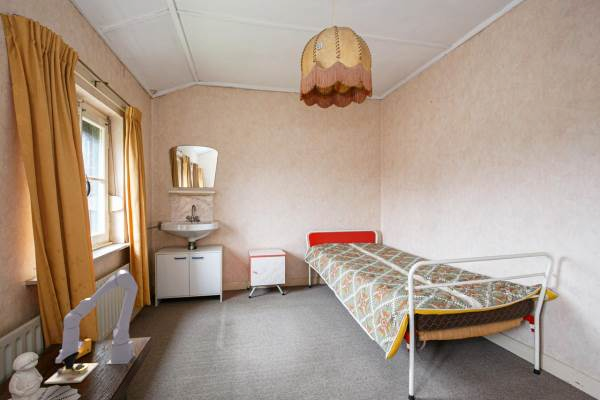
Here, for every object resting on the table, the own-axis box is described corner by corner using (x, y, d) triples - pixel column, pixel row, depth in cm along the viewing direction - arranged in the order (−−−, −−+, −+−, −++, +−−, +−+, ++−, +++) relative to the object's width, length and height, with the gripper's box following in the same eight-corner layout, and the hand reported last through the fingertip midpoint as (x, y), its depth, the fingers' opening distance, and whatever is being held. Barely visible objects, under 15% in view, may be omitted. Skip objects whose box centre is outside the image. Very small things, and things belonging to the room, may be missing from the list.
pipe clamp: (83, 350, 140) (84, 338, 141) (90, 351, 140) (91, 339, 140) (59, 363, 129) (60, 349, 129) (67, 364, 128) (68, 350, 128)
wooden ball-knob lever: (89, 366, 125) (90, 362, 125) (83, 373, 119) (83, 370, 119) (61, 369, 122) (61, 365, 122) (53, 377, 116) (53, 373, 116)
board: (98, 364, 128) (99, 356, 129) (80, 382, 116) (81, 373, 116) (66, 366, 126) (67, 357, 127) (44, 383, 114) (45, 374, 114)
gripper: (72, 332, 128) (70, 361, 128) (48, 348, 114) (46, 380, 114) (88, 332, 129) (86, 360, 129) (66, 348, 115) (64, 379, 114)
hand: (69, 370), depth 121 cm, fingers closed, pressing on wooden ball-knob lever
